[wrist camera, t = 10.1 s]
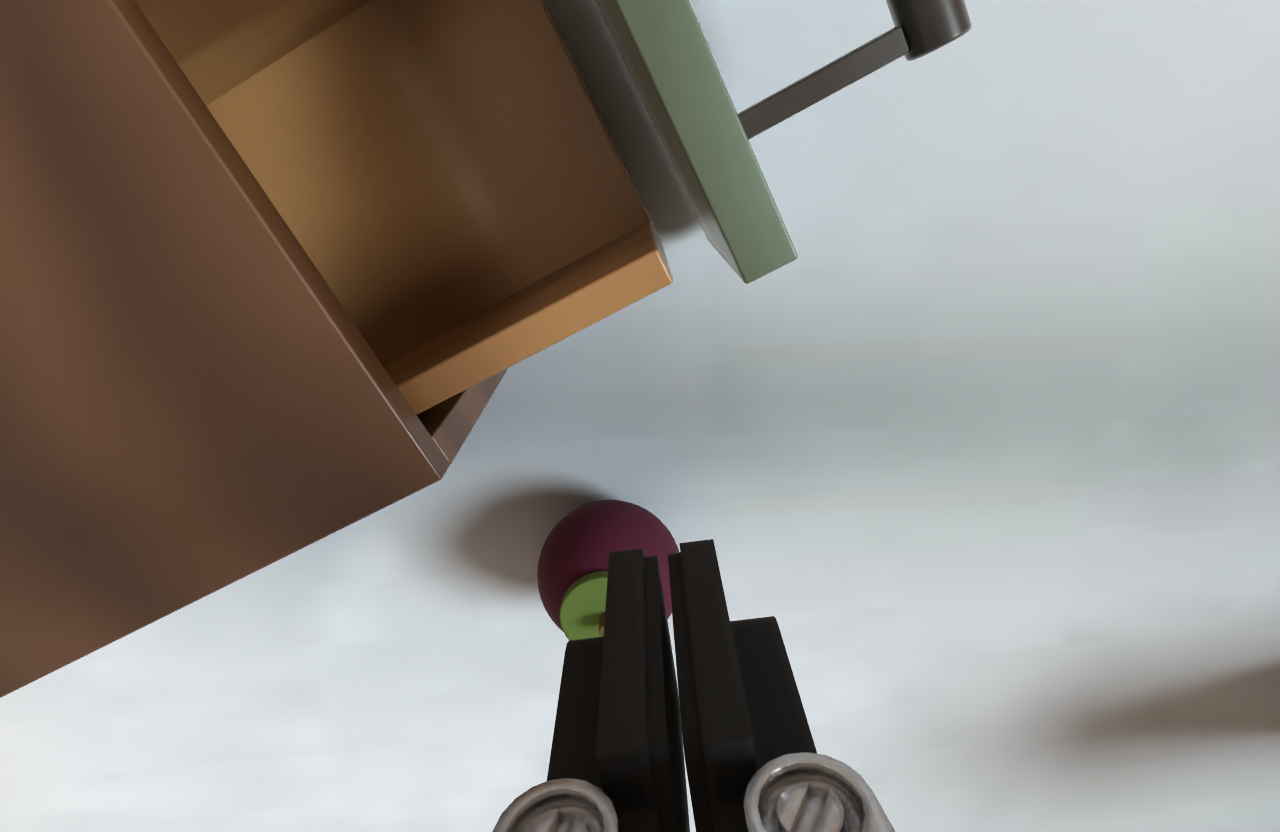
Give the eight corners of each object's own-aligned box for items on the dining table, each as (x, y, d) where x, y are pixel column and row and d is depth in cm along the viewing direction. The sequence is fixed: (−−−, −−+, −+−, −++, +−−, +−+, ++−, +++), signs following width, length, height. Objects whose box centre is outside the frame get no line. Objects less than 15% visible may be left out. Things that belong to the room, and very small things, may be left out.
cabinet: (289, -18, 20) (-1, -162, 11) (515, 357, 24) (442, 479, 15) (-77, 224, 22) (-567, 271, 13) (185, 527, 26) (-51, 723, 17)
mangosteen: (523, 507, 26) (493, 602, 20) (640, 452, 25) (642, 535, 20) (586, 605, 27) (574, 718, 22) (699, 556, 27) (716, 659, 21)
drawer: (763, -316, 17) (863, -678, 9) (917, 131, 20) (1074, 119, 13) (156, 83, 20) (-124, 41, 12) (383, 410, 23) (270, 526, 16)
